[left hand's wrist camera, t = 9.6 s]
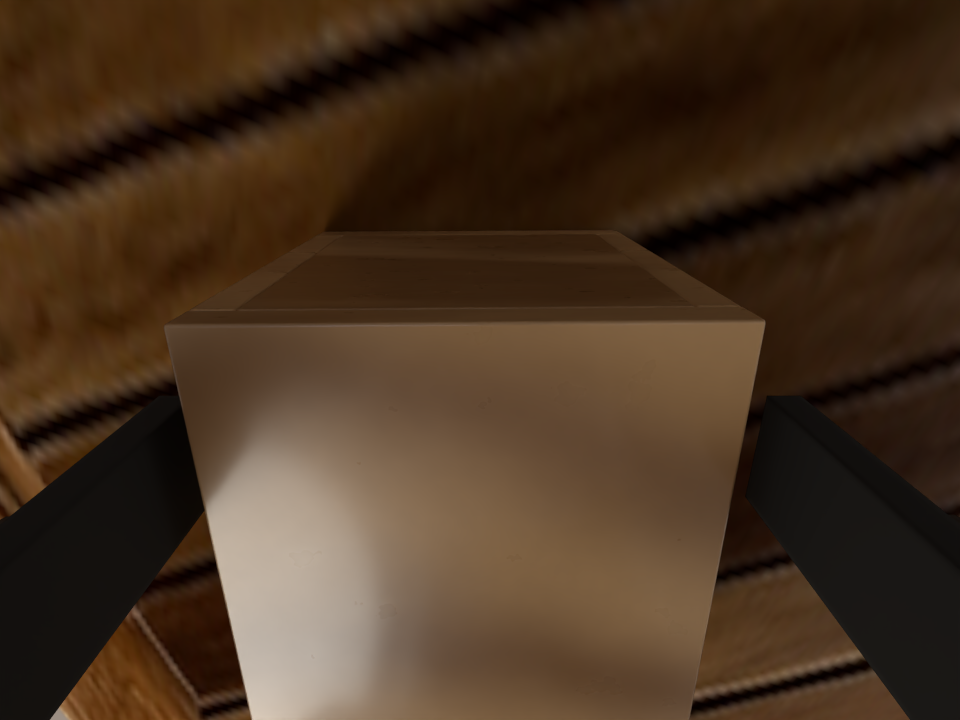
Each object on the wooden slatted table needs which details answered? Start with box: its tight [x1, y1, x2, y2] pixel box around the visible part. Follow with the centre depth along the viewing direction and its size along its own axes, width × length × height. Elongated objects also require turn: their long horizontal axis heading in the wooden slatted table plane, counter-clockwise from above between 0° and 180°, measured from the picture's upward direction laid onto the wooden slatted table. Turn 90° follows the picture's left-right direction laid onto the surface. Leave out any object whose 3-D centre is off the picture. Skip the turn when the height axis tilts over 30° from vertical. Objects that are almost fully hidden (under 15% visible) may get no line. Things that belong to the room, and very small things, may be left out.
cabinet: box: [164, 230, 766, 720], centre depth 18 cm, size 17×11×11 cm, turn 0°
